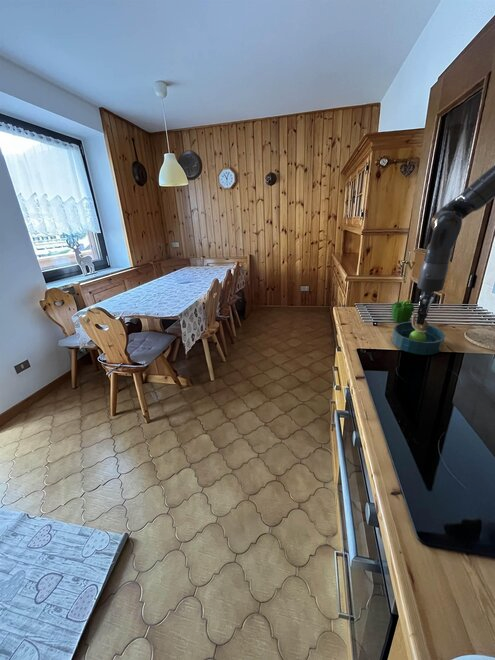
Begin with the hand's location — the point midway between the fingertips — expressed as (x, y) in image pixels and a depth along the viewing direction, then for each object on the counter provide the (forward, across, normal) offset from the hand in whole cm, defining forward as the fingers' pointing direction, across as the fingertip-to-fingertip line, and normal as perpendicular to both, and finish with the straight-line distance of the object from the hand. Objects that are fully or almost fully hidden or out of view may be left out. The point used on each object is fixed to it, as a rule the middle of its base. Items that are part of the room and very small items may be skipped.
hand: (421, 320), depth 101 cm
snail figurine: (+10, 0, 0) cm, 10 cm away
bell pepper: (+10, +18, +9) cm, 23 cm away
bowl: (+10, 0, 0) cm, 10 cm away
